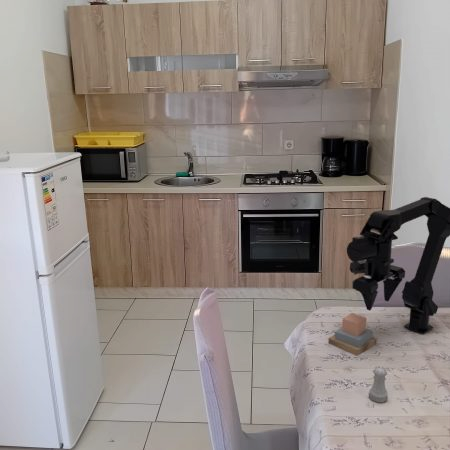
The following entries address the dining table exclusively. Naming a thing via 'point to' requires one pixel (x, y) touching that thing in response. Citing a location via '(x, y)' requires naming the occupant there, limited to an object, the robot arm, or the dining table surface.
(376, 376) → the grey chess pawn
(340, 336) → the slate top block
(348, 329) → the terracotta block
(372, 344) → the walnut base block
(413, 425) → the dining table surface
